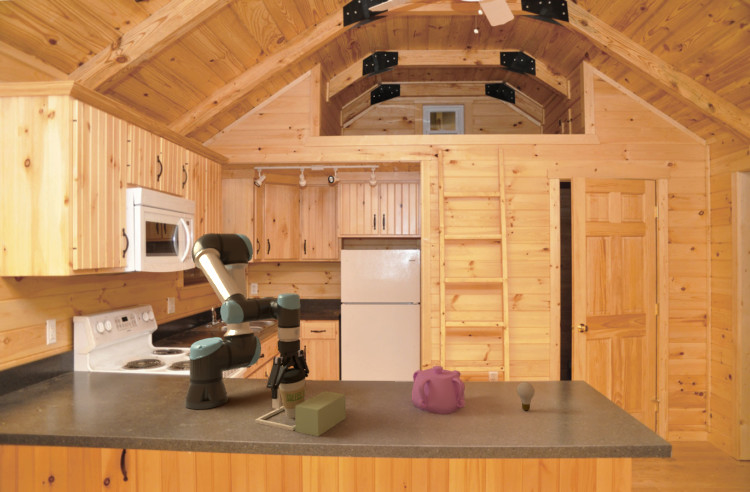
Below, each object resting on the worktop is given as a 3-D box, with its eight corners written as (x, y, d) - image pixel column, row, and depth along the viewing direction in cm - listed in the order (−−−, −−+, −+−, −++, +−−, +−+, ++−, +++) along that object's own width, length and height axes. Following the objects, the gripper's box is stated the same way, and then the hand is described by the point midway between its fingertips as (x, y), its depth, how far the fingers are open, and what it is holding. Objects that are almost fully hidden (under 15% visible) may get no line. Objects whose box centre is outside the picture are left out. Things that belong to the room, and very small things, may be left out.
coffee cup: (303, 421, 148) (299, 378, 146) (275, 420, 150) (271, 378, 148) (313, 407, 157) (309, 366, 156) (287, 406, 159) (283, 366, 158)
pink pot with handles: (412, 415, 153) (412, 373, 153) (411, 395, 174) (410, 358, 174) (468, 416, 152) (468, 374, 152) (460, 396, 173) (460, 359, 173)
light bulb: (534, 408, 158) (534, 380, 158) (535, 414, 152) (534, 385, 153) (517, 407, 160) (517, 379, 160) (517, 412, 154) (516, 383, 154)
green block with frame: (255, 422, 147) (254, 398, 147) (286, 407, 162) (286, 384, 162) (318, 436, 136) (317, 410, 136) (345, 418, 150) (345, 394, 150)
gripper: (273, 347, 138) (274, 415, 138) (318, 333, 161) (319, 392, 160) (255, 345, 142) (255, 411, 141) (301, 332, 164) (302, 390, 164)
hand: (289, 401), depth 151 cm, fingers open, 13 cm apart
